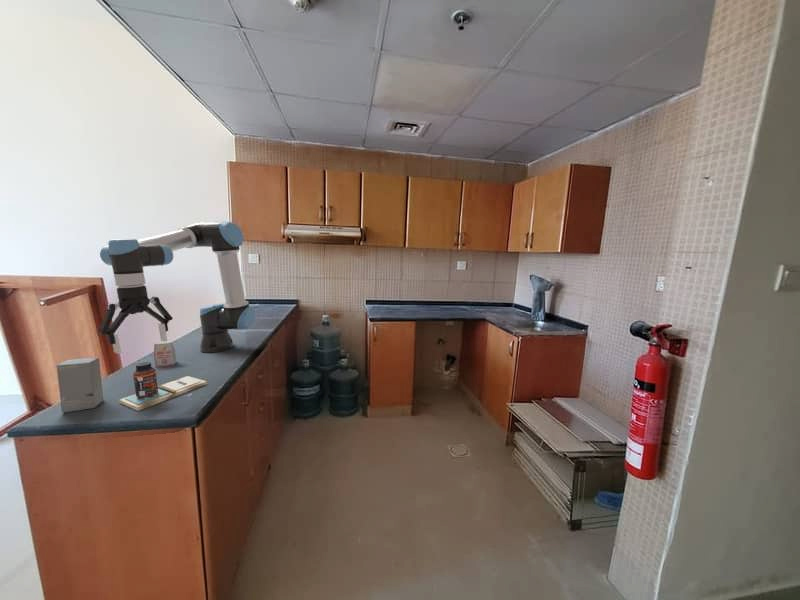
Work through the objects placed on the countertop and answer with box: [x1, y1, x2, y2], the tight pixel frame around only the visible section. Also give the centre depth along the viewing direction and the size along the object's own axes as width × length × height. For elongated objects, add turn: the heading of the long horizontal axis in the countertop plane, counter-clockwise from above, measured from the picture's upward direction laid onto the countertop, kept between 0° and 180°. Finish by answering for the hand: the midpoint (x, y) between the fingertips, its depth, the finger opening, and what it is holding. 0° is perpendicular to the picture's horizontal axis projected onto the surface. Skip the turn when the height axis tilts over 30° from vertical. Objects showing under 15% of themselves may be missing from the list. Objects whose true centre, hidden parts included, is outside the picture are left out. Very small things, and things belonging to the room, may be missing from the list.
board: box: [118, 375, 208, 412], centre depth 110 cm, size 22×12×2 cm, turn 153°
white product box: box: [153, 342, 178, 368], centre depth 138 cm, size 4×7×10 cm, turn 107°
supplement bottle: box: [132, 361, 159, 398], centre depth 105 cm, size 6×6×11 cm
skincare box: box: [56, 357, 104, 414], centre depth 101 cm, size 8×7×16 cm
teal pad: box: [124, 389, 169, 405], centre depth 106 cm, size 9×9×1 cm
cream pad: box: [161, 376, 201, 391], centre depth 115 cm, size 9×9×1 cm
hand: (142, 346), depth 106 cm, fingers open, 13 cm apart
